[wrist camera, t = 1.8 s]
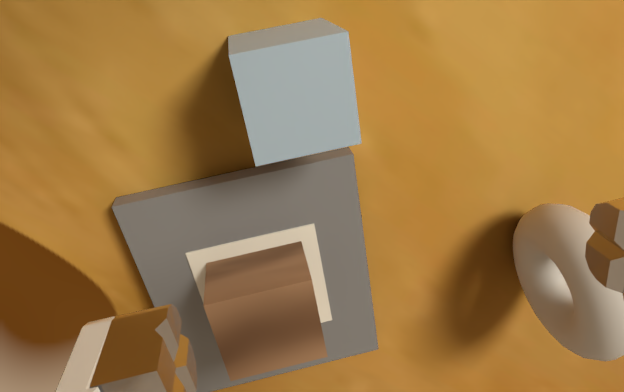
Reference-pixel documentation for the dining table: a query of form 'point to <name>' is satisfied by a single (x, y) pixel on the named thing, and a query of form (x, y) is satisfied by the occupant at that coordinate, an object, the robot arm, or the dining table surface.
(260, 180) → the plate
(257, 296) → the walnut block
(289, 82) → the blue block
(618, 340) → the donut
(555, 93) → the dining table surface
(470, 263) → the dining table surface
